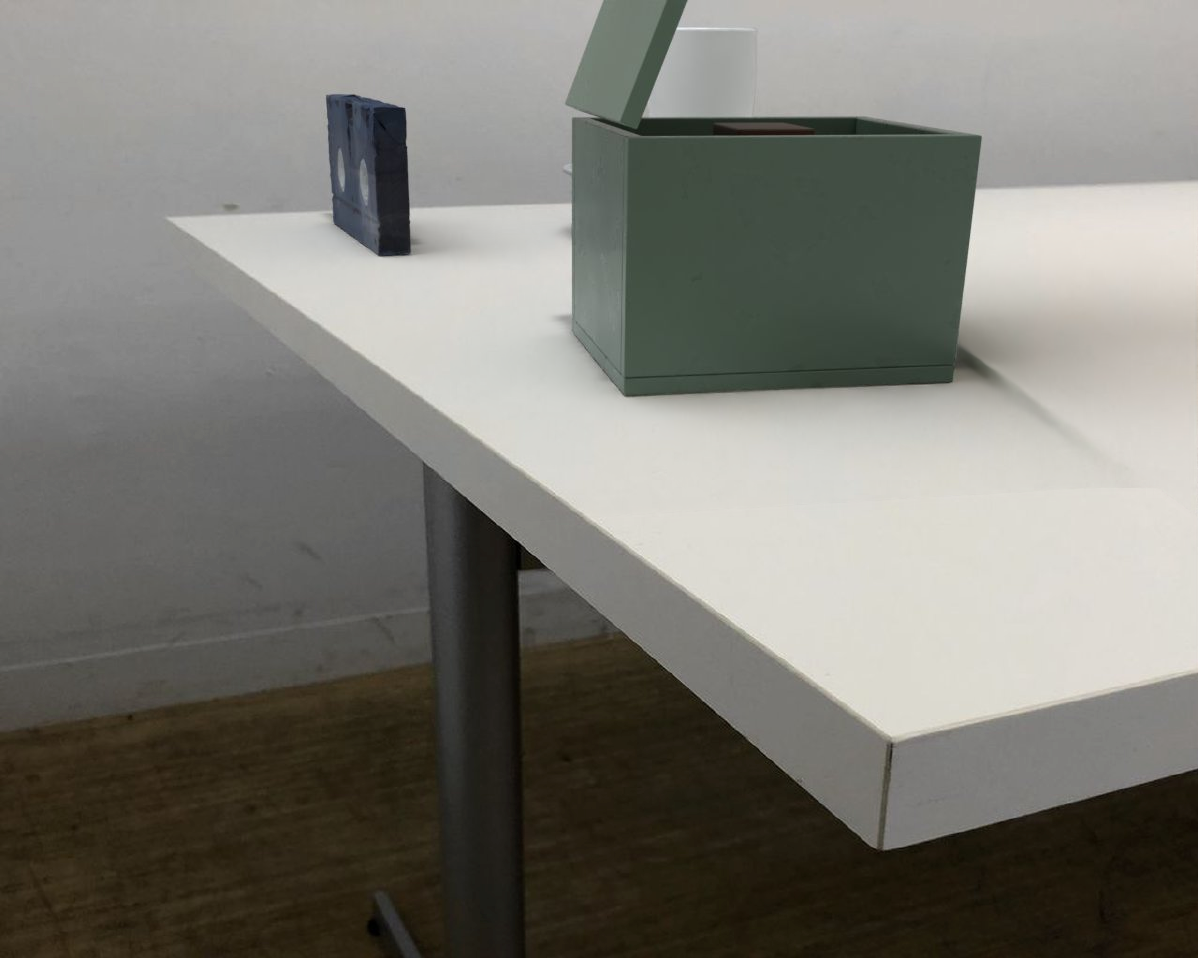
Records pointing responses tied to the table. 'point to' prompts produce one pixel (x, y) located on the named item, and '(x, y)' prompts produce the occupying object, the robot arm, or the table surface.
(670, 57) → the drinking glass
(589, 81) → the bin lid
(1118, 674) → the table surface
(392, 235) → the vhs cassette tape
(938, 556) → the table surface
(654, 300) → the bin
